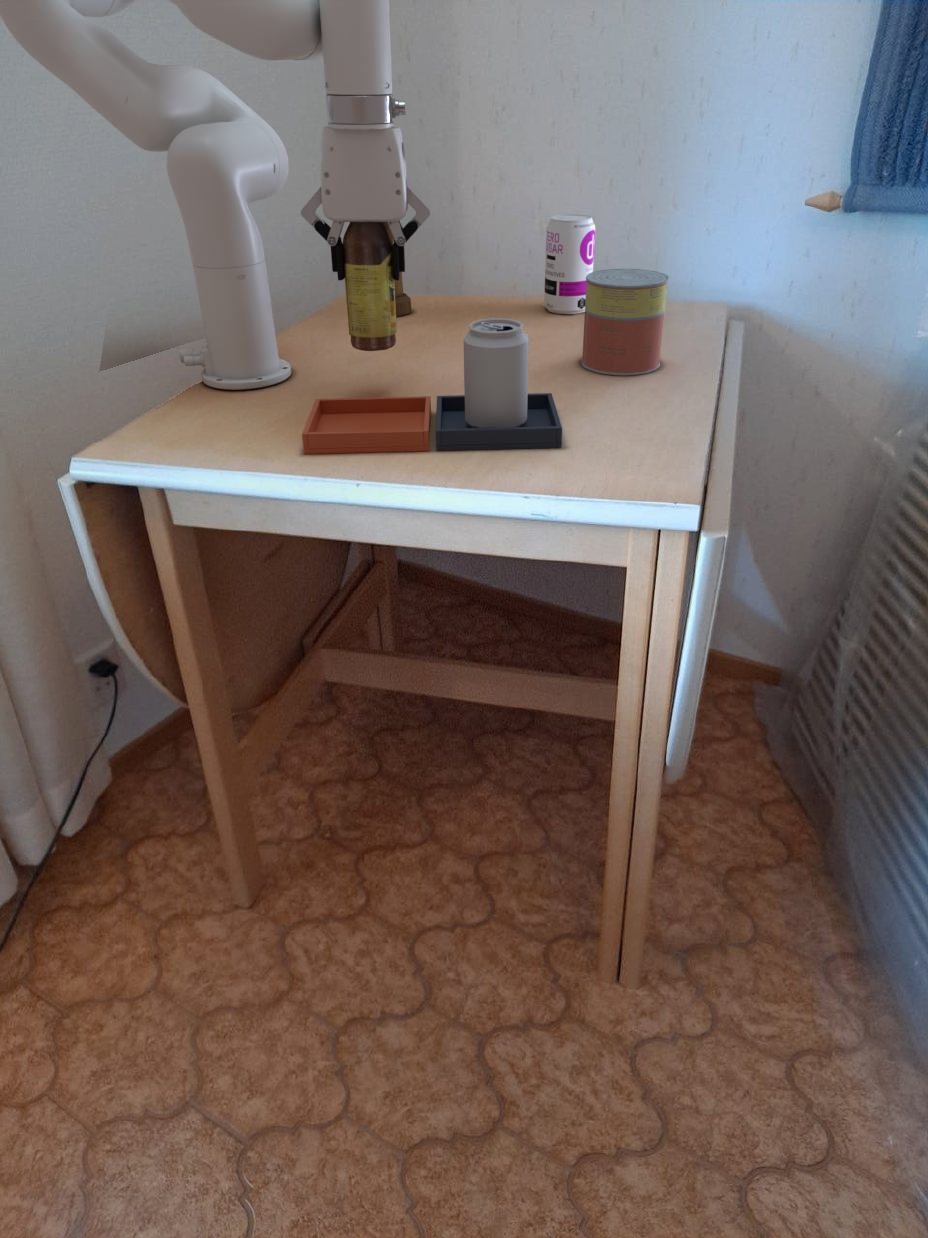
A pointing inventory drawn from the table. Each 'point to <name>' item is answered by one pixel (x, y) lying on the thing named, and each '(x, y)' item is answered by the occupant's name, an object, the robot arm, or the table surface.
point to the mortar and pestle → (399, 288)
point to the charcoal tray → (533, 433)
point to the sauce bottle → (369, 286)
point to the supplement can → (568, 262)
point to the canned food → (624, 321)
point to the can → (496, 373)
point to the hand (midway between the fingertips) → (369, 276)
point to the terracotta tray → (368, 425)
